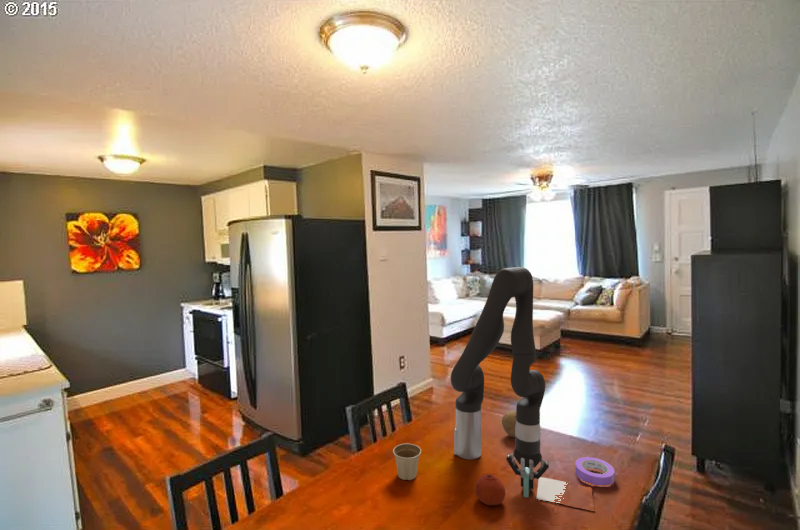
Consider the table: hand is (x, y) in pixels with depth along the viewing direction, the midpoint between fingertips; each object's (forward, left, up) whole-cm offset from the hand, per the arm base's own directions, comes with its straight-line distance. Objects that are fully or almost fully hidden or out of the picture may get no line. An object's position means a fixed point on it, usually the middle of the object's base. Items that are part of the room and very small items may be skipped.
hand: (527, 488), depth 128 cm
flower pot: (-38, -6, -1) cm, 38 cm away
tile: (0, 0, -1) cm, 1 cm away
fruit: (-10, -10, -1) cm, 14 cm away
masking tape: (+20, +15, -1) cm, 25 cm away
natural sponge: (-8, +34, -1) cm, 35 cm away
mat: (+11, +2, -1) cm, 11 cm away
